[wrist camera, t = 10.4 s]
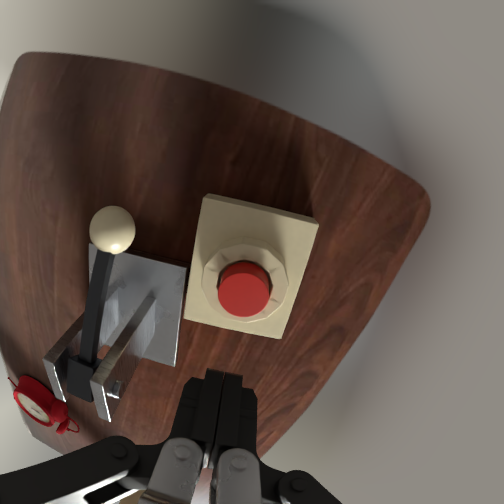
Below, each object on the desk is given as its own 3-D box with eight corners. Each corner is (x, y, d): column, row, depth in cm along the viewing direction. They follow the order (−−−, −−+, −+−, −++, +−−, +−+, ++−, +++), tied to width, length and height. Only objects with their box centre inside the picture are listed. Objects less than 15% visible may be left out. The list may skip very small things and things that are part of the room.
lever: (108, 209, 20) (89, 195, 17) (146, 217, 20) (132, 204, 17) (77, 379, 18) (56, 390, 15) (112, 393, 18) (95, 408, 15)
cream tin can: (173, 490, 45) (165, 530, 34) (137, 483, 45) (126, 521, 34) (160, 475, 42) (149, 520, 30) (121, 466, 42) (107, 508, 31)
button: (226, 257, 21) (222, 267, 19) (273, 267, 21) (274, 279, 19) (217, 298, 22) (213, 311, 20) (261, 308, 22) (261, 322, 21)
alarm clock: (2, 373, 29) (60, 434, 28) (25, 357, 35) (82, 412, 34) (12, 403, 33) (66, 455, 31) (31, 388, 39) (84, 436, 37)
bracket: (94, 239, 25) (6, 301, 13) (189, 262, 25) (136, 356, 13) (98, 335, 29) (44, 411, 17) (177, 359, 29) (144, 454, 17)
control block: (208, 192, 23) (197, 201, 19) (314, 217, 23) (324, 230, 20) (188, 306, 27) (178, 329, 23) (279, 325, 27) (281, 351, 23)
